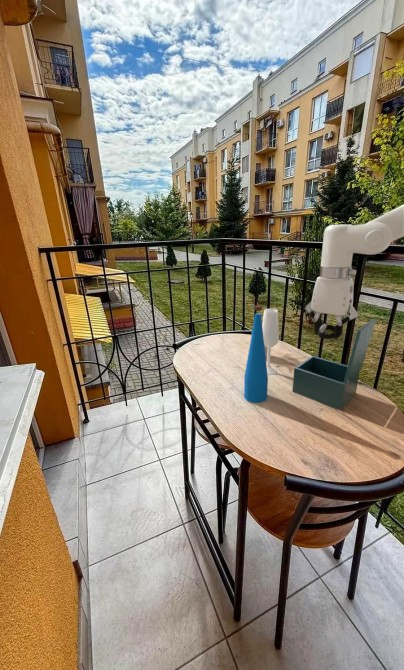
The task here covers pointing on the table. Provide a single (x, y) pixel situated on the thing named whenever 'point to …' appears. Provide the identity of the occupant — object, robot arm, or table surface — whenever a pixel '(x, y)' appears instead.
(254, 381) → the bottle
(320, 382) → the tin box
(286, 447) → the table surface
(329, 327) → the watch
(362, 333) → the lid
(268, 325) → the champagne flute
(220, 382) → the table surface
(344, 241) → the robot arm
